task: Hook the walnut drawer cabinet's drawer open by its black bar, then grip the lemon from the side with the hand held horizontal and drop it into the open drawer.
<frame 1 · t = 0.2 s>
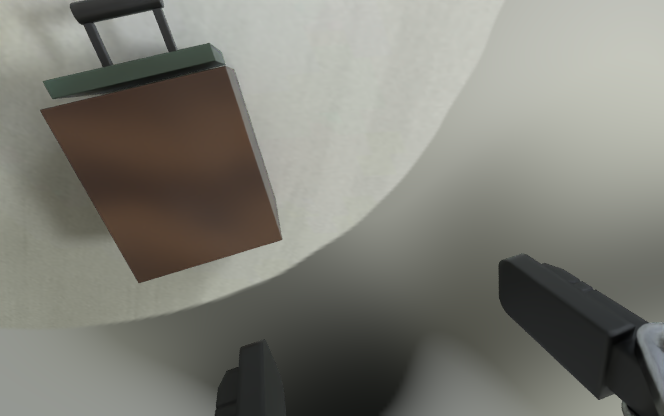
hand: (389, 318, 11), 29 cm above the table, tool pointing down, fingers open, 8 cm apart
cabinet: (199, 155, 35), on the table
drawer: (169, 117, 29), point 5 cm above the table, slide at 0.5 cm
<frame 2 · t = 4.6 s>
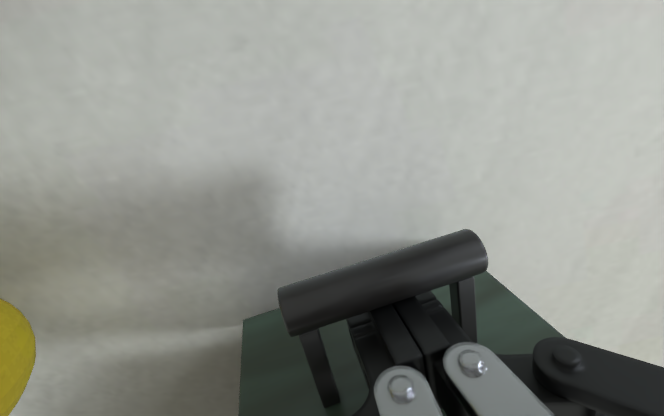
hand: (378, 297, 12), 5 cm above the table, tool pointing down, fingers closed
lemon: (1, 305, 14), on the table
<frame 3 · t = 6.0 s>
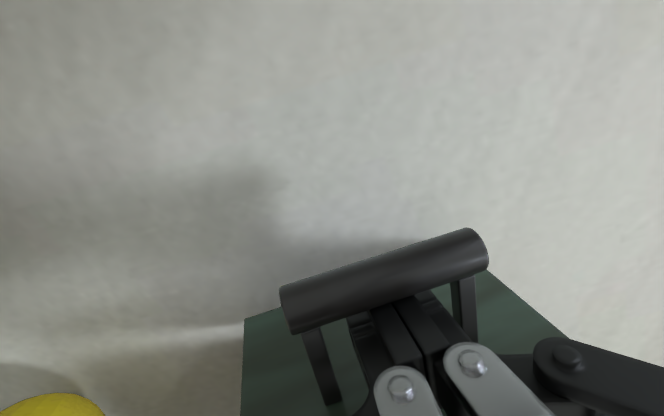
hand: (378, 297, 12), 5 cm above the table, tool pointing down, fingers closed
lemon: (75, 393, 16), on the table
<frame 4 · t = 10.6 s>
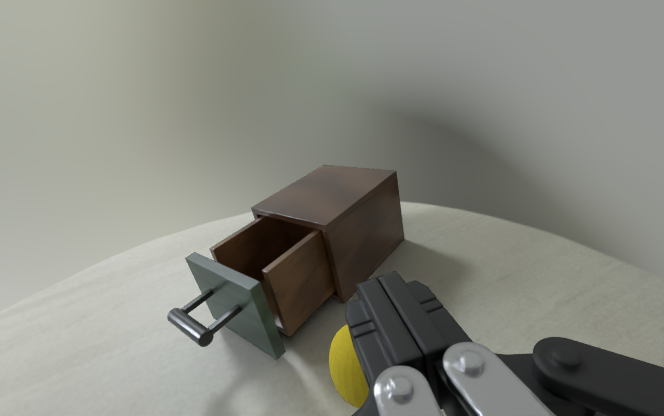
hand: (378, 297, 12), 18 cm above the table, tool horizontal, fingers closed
lemon: (372, 398, 28), on the table
cabinet: (340, 256, 47), on the table
drawer: (261, 280, 36), point 5 cm above the table, slide at 8.7 cm
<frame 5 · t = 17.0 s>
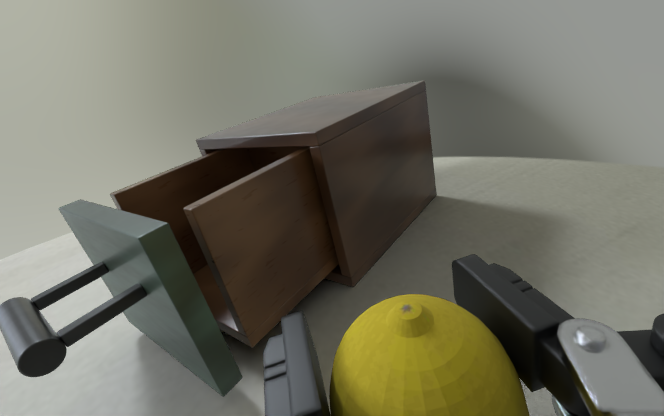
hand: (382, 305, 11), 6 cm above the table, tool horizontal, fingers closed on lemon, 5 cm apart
cabinet: (341, 223, 31), on the table
drawer: (203, 248, 20), point 5 cm above the table, slide at 8.7 cm
when the fingers open (13 cm above the table, at t = 23.7 s): lemon drops 4 cm, resting on drawer.
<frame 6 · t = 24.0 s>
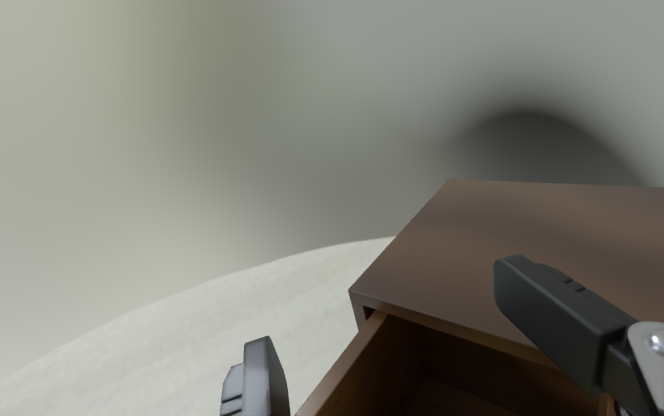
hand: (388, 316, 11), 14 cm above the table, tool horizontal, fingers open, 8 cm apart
cabinet: (514, 369, 22), on the table
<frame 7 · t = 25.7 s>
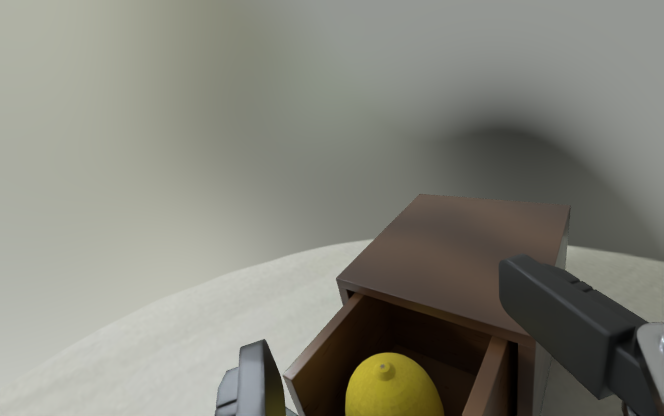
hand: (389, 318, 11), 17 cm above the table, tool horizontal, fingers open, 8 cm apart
cabinet: (464, 341, 29), on the table
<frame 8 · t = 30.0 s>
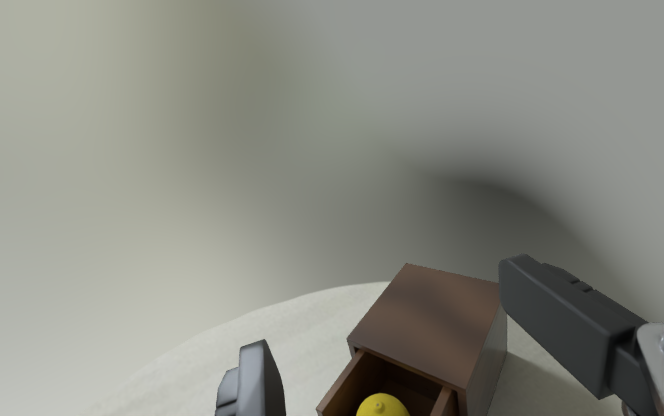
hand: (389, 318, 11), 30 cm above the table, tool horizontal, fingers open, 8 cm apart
cabinet: (437, 375, 41), on the table
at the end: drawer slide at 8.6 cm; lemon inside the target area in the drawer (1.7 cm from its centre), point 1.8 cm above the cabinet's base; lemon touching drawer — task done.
